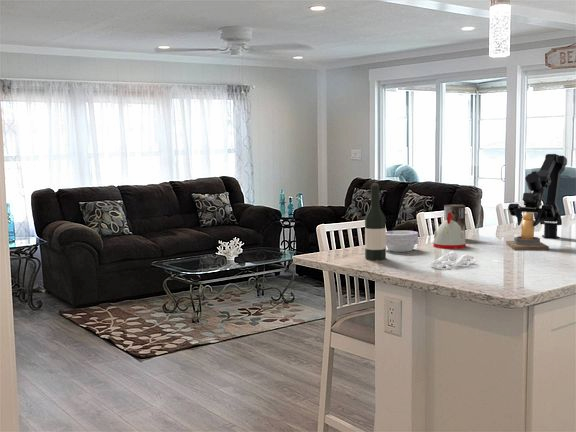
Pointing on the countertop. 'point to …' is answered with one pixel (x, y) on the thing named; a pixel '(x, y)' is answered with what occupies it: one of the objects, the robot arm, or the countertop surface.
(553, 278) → the countertop surface
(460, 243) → the kitchen timer
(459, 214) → the coffee box
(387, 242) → the paper bowls
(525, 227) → the wooden peg doll
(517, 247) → the peg board base
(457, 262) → the crumpled white cloth
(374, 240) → the wine bottle
